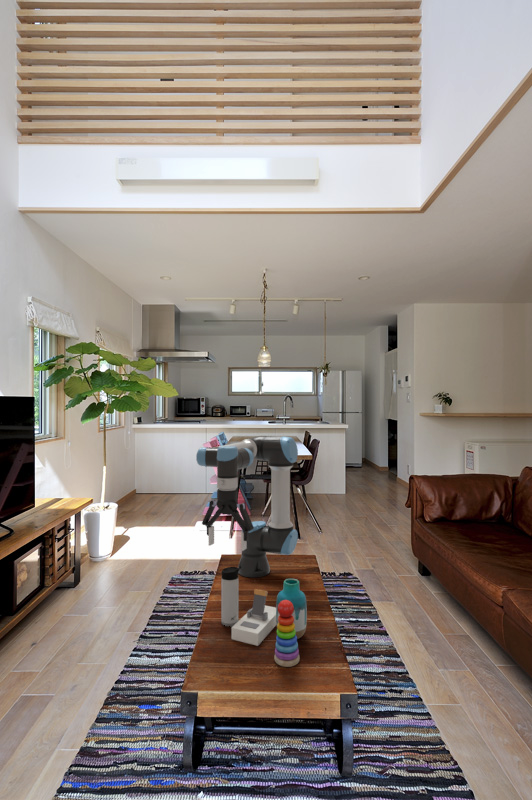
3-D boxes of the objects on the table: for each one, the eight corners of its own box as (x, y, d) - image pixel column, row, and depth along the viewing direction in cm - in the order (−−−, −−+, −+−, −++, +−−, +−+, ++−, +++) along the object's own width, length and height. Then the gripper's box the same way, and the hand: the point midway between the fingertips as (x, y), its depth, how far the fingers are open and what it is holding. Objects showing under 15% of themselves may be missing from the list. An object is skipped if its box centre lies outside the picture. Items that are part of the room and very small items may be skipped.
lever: (252, 615, 164) (256, 589, 167) (263, 618, 162) (267, 591, 165) (250, 615, 162) (254, 589, 165) (261, 618, 160) (265, 591, 163)
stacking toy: (298, 653, 147) (298, 595, 147) (300, 668, 139) (300, 606, 139) (273, 653, 146) (273, 595, 146) (274, 668, 138) (274, 606, 138)
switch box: (257, 614, 174) (257, 598, 174) (281, 619, 169) (281, 603, 169) (231, 639, 155) (231, 621, 155) (257, 645, 151) (257, 627, 151)
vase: (290, 626, 164) (290, 573, 164) (313, 637, 157) (313, 581, 157) (269, 636, 157) (269, 581, 157) (292, 648, 149) (292, 590, 149)
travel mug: (236, 627, 163) (236, 571, 163) (219, 625, 165) (219, 570, 164) (241, 619, 169) (241, 565, 169) (224, 617, 171) (224, 564, 171)
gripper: (192, 487, 168) (192, 545, 168) (253, 493, 157) (253, 554, 157) (203, 484, 175) (203, 539, 175) (262, 489, 164) (262, 548, 164)
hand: (227, 547), depth 166 cm, fingers open, 13 cm apart
